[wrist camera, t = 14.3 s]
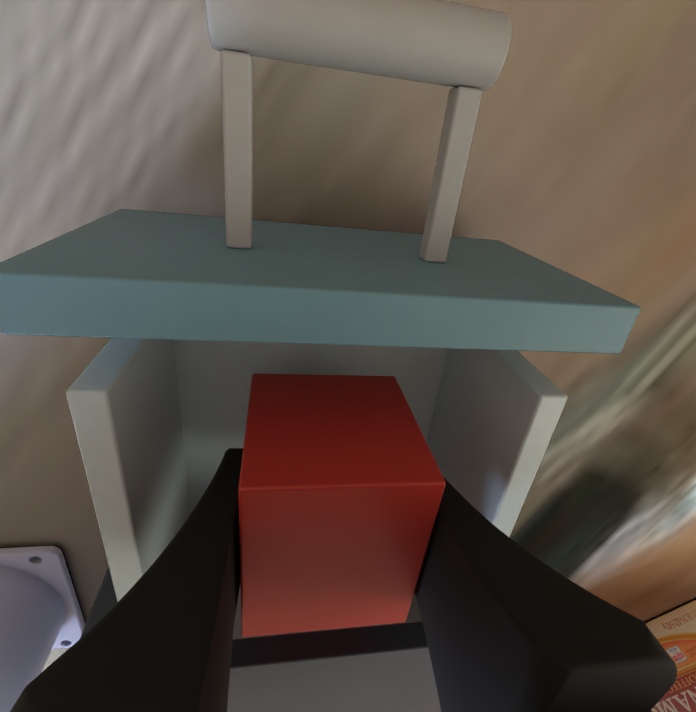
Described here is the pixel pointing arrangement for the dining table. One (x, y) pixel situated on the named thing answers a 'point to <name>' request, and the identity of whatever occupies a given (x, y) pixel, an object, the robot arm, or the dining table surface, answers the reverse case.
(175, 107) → the dining table surface
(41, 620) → the robot arm
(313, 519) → the red block
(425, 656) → the cabinet
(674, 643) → the coffeecake box
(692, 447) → the dining table surface
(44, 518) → the dining table surface
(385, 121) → the dining table surface
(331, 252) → the drawer
